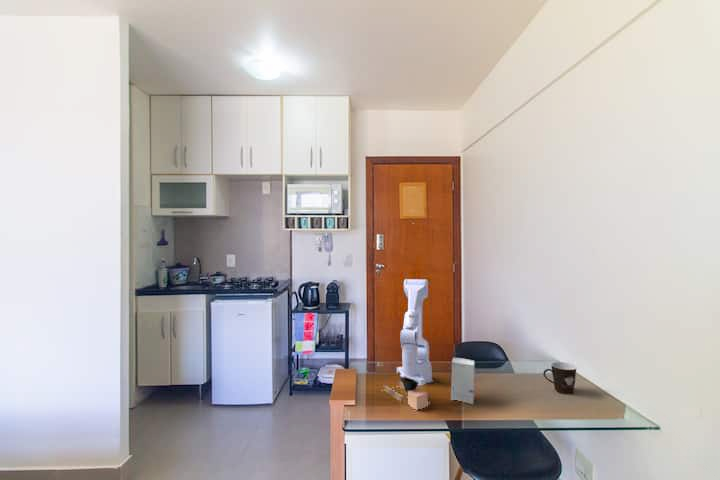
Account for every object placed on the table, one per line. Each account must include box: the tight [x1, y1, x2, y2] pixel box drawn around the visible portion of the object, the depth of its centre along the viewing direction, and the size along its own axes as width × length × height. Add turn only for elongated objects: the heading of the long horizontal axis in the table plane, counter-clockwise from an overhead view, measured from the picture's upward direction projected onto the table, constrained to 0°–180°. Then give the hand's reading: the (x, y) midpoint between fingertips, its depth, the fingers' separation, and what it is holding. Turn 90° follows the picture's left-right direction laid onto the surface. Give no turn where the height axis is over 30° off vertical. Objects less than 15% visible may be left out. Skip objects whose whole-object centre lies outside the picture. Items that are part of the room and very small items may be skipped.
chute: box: [382, 380, 406, 403], centre depth 129 cm, size 12×8×2 cm
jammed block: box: [408, 388, 429, 411], centre depth 120 cm, size 5×5×5 cm
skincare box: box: [450, 357, 476, 405], centre depth 125 cm, size 8×6×15 cm
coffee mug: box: [543, 361, 577, 395], centre depth 132 cm, size 12×9×10 cm
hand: (410, 397), depth 123 cm, fingers closed
